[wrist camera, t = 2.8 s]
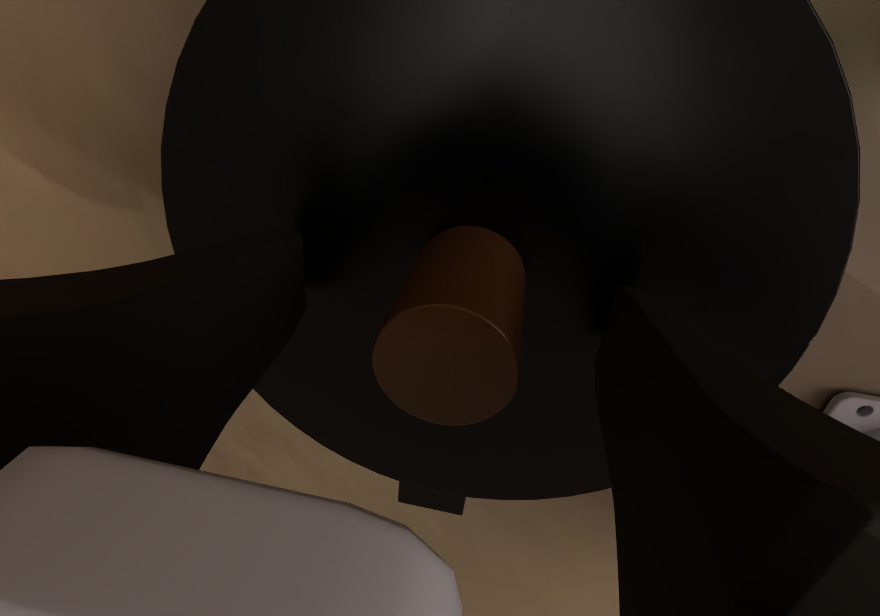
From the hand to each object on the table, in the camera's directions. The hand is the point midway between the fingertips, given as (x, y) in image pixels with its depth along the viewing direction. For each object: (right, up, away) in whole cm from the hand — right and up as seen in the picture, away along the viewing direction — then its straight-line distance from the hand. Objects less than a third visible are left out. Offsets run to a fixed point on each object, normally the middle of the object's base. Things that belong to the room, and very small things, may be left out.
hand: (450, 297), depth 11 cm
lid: (+1, +1, +1) cm, 1 cm away
